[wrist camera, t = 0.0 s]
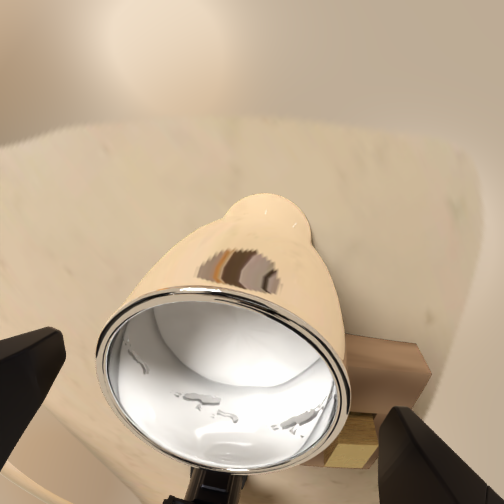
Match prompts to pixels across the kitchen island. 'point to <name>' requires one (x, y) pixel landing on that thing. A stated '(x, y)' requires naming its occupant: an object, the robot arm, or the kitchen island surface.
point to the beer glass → (232, 346)
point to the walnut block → (381, 380)
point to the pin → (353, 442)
